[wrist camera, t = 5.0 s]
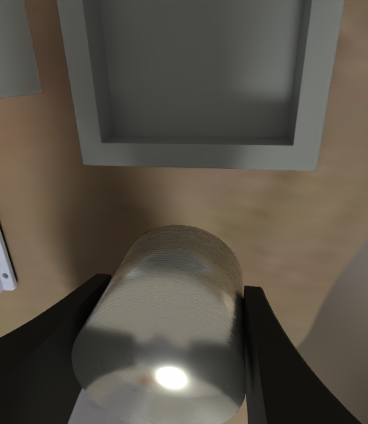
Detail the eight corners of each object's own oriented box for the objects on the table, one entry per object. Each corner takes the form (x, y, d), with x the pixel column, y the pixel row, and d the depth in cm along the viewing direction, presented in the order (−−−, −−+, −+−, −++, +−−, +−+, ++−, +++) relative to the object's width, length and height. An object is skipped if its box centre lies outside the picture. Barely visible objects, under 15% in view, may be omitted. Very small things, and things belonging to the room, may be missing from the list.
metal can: (239, 329, 14) (240, 444, 10) (130, 318, 15) (86, 420, 11) (246, 228, 12) (253, 319, 8) (118, 221, 13) (56, 300, 8)
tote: (303, 155, 17) (315, 170, 15) (104, 151, 19) (83, 165, 16) (345, -135, 12) (376, -193, 10) (71, -103, 14) (33, -144, 11)
